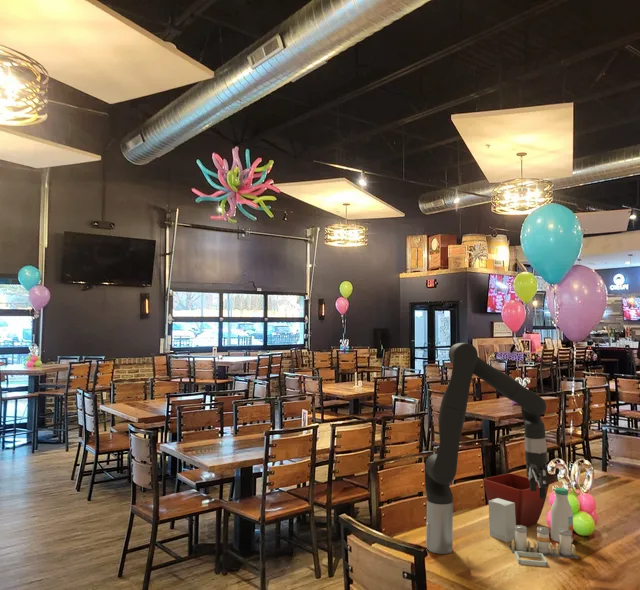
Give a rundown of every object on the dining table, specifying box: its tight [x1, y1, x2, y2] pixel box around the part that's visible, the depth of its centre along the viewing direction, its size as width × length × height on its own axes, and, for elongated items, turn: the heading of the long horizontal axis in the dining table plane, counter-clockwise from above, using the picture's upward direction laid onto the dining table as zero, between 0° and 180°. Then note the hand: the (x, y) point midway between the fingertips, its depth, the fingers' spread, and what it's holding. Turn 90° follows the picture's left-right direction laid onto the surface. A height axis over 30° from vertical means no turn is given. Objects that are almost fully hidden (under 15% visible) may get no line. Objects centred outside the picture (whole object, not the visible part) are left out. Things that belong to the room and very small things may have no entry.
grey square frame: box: [513, 551, 549, 567], centre depth 189 cm, size 9×8×3 cm
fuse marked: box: [536, 526, 550, 554], centre depth 196 cm, size 4×4×8 cm
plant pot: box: [483, 472, 549, 528], centre depth 231 cm, size 19×19×17 cm
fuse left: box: [514, 525, 528, 552], centre depth 198 cm, size 4×4×8 cm
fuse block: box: [508, 540, 580, 560], centre depth 196 cm, size 22×7×4 cm, turn 81°
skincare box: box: [488, 498, 516, 543], centre depth 210 cm, size 8×6×15 cm
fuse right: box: [559, 528, 572, 556], centre depth 195 cm, size 4×4×8 cm
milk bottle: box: [550, 487, 574, 543], centre depth 209 cm, size 8×8×20 cm
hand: (537, 494), depth 203 cm, fingers open, 8 cm apart
